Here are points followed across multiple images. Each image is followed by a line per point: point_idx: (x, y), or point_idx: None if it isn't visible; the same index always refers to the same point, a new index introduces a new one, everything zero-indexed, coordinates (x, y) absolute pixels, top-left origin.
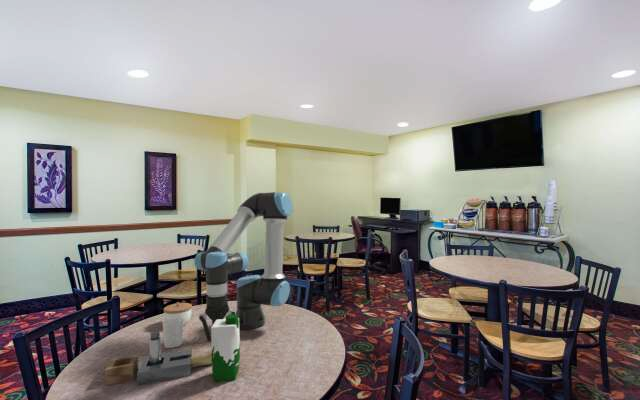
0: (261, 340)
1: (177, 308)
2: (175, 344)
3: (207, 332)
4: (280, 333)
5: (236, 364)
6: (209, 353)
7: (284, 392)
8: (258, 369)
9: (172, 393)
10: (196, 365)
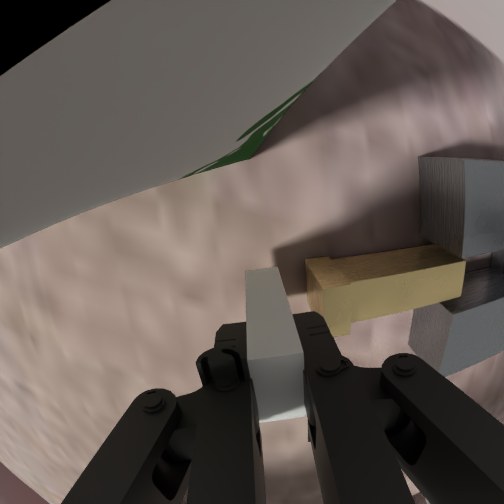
0: (79, 429)
1: None
2: None
3: (473, 435)
4: (36, 439)
5: (85, 8)
6: (340, 304)
7: None
8: None
9: (449, 24)
10: (399, 252)
